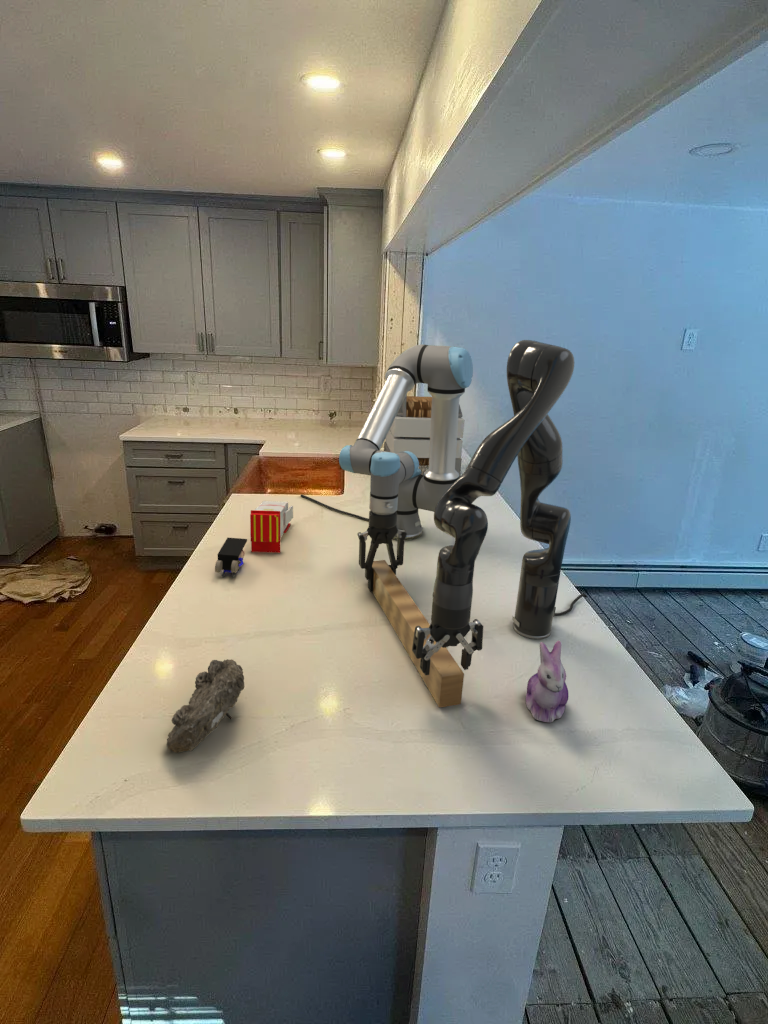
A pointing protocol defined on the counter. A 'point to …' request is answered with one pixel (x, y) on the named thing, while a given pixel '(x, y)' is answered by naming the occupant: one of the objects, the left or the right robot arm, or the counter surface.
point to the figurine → (548, 686)
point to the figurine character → (230, 556)
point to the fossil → (206, 705)
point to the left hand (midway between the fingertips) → (379, 588)
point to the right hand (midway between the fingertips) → (445, 670)
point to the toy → (269, 525)
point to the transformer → (418, 430)
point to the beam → (404, 619)
